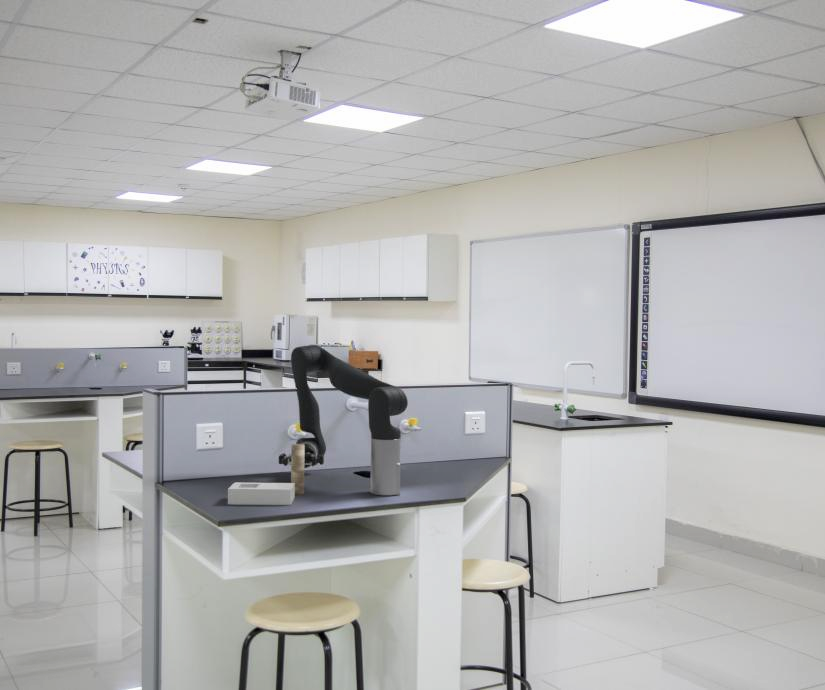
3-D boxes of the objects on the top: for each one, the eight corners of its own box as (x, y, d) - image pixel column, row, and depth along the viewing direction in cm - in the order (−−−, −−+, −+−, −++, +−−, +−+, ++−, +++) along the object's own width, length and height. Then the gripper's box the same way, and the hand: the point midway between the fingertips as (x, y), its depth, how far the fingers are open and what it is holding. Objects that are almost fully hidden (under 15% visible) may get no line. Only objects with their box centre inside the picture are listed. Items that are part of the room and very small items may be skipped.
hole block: (294, 498, 253) (294, 483, 253) (290, 505, 243) (290, 489, 243) (234, 497, 253) (234, 482, 253) (227, 504, 243) (227, 488, 243)
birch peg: (304, 492, 262) (305, 444, 262) (303, 494, 258) (303, 446, 258) (291, 492, 262) (292, 443, 262) (290, 494, 258) (290, 445, 258)
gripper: (283, 443, 279) (276, 450, 263) (326, 443, 279) (322, 451, 263) (283, 465, 279) (276, 474, 263) (326, 466, 279) (321, 475, 263)
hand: (299, 462), depth 263 cm, fingers open, 8 cm apart
